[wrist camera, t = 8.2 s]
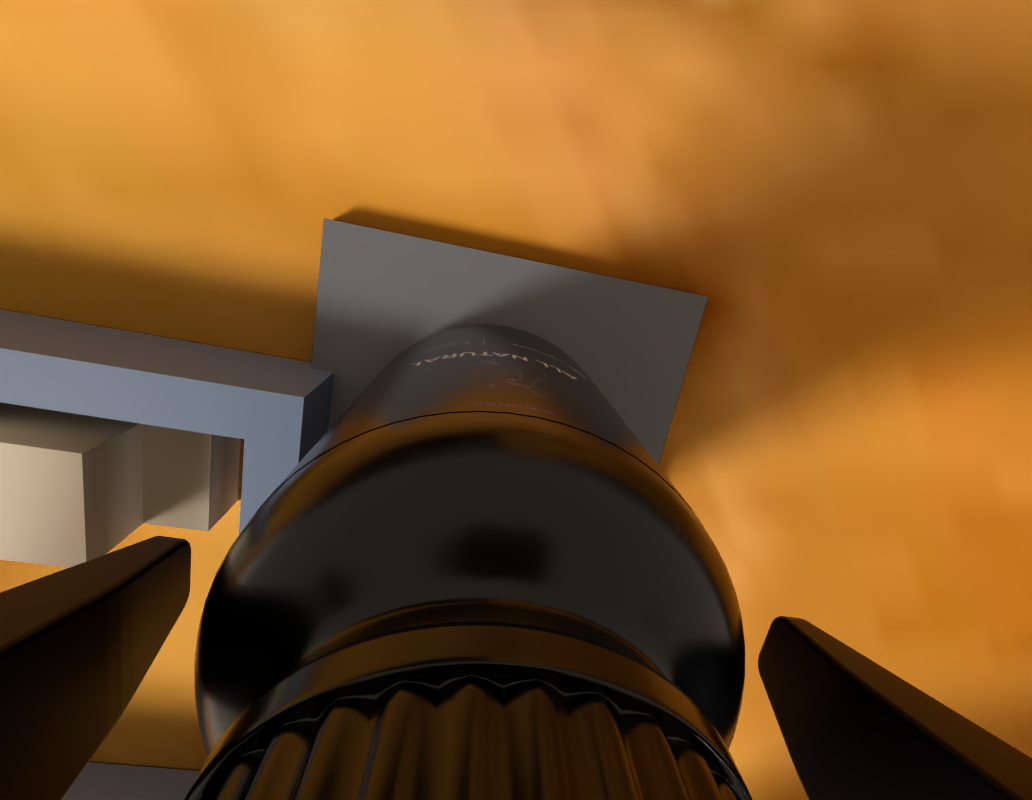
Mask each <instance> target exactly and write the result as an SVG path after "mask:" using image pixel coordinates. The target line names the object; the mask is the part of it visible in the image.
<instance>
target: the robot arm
mask: <svg viewBox="0 0 1032 800" xmlns="http://www.w3.org/2000/svg"><path fill="white" fill-rule="evenodd" d="M190 570H191V547H190V543H189V542H188V541H187V540H185V539H179V538H171V537H163V536H156V537H152V538H150V539H147V540H144V541H141V542H139V543H136V544H133V545H130V546H128V547H125V548H122V549H119V550H117V551H114V552H111V553H108V554H106V555H103V556H100V557H97V558H95V559H92V560H89V561H86V562H84V563H81V564H78V565H75V566H73V567H70V568H67V569H64V570H61V571H59V572H56V573H53V574H50V575H48V576H45V577H42V578H39V579H37V580H34V581H31V582H28V583H26V584H23V585H20V586H17V587H15V588H12V589H9V590H6V591H4V592H1V593H0V800H62V798H63V797H64V795H65V794H66V793H67V791H68V790H69V788H70V787H71V786H72V784H73V783H74V781H75V780H76V779H77V777H78V776H79V774H80V773H81V772H82V770H83V769H84V767H85V766H86V765H87V763H88V762H89V760H90V759H91V758H92V756H93V755H94V753H95V752H96V751H97V749H98V748H99V746H100V745H101V744H102V742H103V741H104V739H105V738H106V737H107V735H108V734H109V732H110V731H111V729H112V728H113V726H114V725H115V723H116V722H117V721H118V719H119V718H120V716H121V715H122V713H123V712H124V710H125V708H126V707H127V705H128V703H129V702H130V700H131V698H132V697H133V695H134V693H135V692H136V690H137V688H138V687H139V685H140V683H141V681H142V680H143V678H144V676H145V674H146V673H147V671H148V669H149V667H150V666H151V664H152V662H153V661H154V659H155V657H156V655H157V654H158V652H159V650H160V648H161V647H162V645H163V643H164V642H165V640H166V638H167V636H168V635H169V633H170V631H171V629H172V628H173V626H174V624H175V623H176V621H177V619H178V617H179V616H180V614H181V612H182V610H183V609H184V607H185V605H186V602H187V600H188V596H189V592H190ZM758 668H759V673H760V676H761V679H762V682H763V684H764V687H765V690H766V692H767V695H768V698H769V700H770V703H771V706H772V708H773V711H774V714H775V716H776V719H777V722H778V724H779V727H780V730H781V732H782V735H783V738H784V740H785V743H786V746H787V748H788V751H789V754H790V756H791V759H792V761H793V764H794V766H795V769H796V771H797V774H798V776H799V779H800V781H801V783H802V785H803V787H804V790H805V792H806V794H807V796H808V798H809V800H1032V758H1030V757H1029V756H1027V755H1025V754H1024V753H1022V752H1021V751H1019V750H1017V749H1016V748H1014V747H1012V746H1011V745H1009V744H1007V743H1006V742H1004V741H1003V740H1001V739H999V738H998V737H996V736H994V735H993V734H991V733H989V732H988V731H986V730H985V729H983V728H981V727H980V726H978V725H976V724H975V723H973V722H971V721H970V720H968V719H967V718H965V717H963V716H962V715H960V714H958V713H957V712H955V711H953V710H952V709H950V708H949V707H947V706H945V705H944V704H942V703H940V702H939V701H937V700H935V699H934V698H932V697H931V696H929V695H927V694H926V693H924V692H922V691H921V690H919V689H917V688H916V687H914V686H913V685H911V684H909V683H908V682H906V681H904V680H903V679H901V678H899V677H898V676H896V675H894V674H893V673H891V672H890V671H888V670H886V669H885V668H883V667H881V666H880V665H878V664H876V663H875V662H873V661H872V660H870V659H868V658H867V657H865V656H863V655H862V654H860V653H858V652H857V651H855V650H854V649H852V648H850V647H849V646H847V645H845V644H844V643H842V642H840V641H839V640H837V639H836V638H834V637H832V636H831V635H829V634H827V633H826V632H824V631H822V630H821V629H819V628H818V627H816V626H814V625H813V624H811V623H809V622H808V621H806V620H804V619H801V618H793V617H785V616H779V617H777V618H775V619H774V620H773V622H772V623H771V626H770V628H769V631H768V633H767V636H766V639H765V641H764V644H763V646H762V649H761V651H760V654H759V658H758Z"/></svg>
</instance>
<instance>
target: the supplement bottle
mask: <svg viewBox="0 0 1032 800" xmlns="http://www.w3.org/2000/svg"><path fill="white" fill-rule="evenodd" d="M744 678H745V642H744V634H743V625H742V616H741V612H740V608H739V604H738V600H737V596H736V592H735V589H734V586H733V583H732V581H731V578H730V575H729V573H728V570H727V567H726V565H725V563H724V561H723V559H722V558H721V556H720V554H719V552H718V550H717V548H716V546H715V544H714V543H713V541H712V539H711V538H710V536H709V535H708V533H707V532H706V530H705V529H704V527H703V525H702V524H701V522H700V521H699V519H698V518H697V516H696V515H695V513H694V512H693V510H692V509H691V507H690V506H689V505H688V503H687V502H686V501H685V499H684V498H683V497H682V495H681V494H680V493H679V492H678V490H677V489H676V488H675V486H674V485H673V484H672V483H671V481H670V480H669V479H668V477H667V476H666V475H665V474H664V472H663V471H662V470H661V468H660V467H659V466H658V465H657V463H656V462H655V461H654V459H653V458H652V457H651V456H650V454H649V453H648V452H647V450H646V449H645V448H644V447H643V445H642V444H641V443H640V441H639V440H638V439H637V437H636V436H635V435H634V434H633V432H632V431H631V430H630V428H629V427H628V426H627V425H626V423H625V422H624V421H623V419H622V418H621V417H620V416H619V414H618V413H617V412H616V410H615V409H614V408H613V407H612V405H611V404H610V403H609V401H608V400H607V399H606V398H605V396H604V395H603V394H602V392H601V391H600V390H599V389H598V387H597V386H596V385H595V383H594V382H593V381H592V380H591V379H590V378H589V376H588V375H587V374H586V373H585V372H584V371H583V370H582V368H581V367H580V366H579V365H578V364H577V363H576V362H575V361H574V360H573V359H572V358H571V357H570V356H568V355H567V354H566V353H565V352H563V351H562V350H561V349H559V348H558V347H556V346H555V345H553V344H552V343H550V342H548V341H547V340H545V339H543V338H541V337H539V336H537V335H534V334H532V333H529V332H526V331H524V330H520V329H516V328H513V327H507V326H501V325H491V324H475V325H465V326H458V327H454V328H450V329H446V330H443V331H440V332H437V333H434V334H432V335H430V336H428V337H425V338H423V339H421V340H420V341H418V342H416V343H414V344H413V345H411V346H409V347H408V348H407V349H405V350H404V351H403V352H401V353H400V354H399V355H397V356H396V357H395V358H394V359H393V360H392V361H391V362H390V363H389V364H388V365H387V366H386V367H385V368H384V369H383V370H382V371H381V372H380V373H379V374H378V375H377V376H376V377H375V378H374V380H373V381H372V382H371V383H370V384H369V385H368V386H367V387H366V388H365V390H364V391H363V392H362V393H361V394H360V395H359V396H358V397H357V399H356V400H355V401H354V402H353V403H352V404H351V405H350V406H349V407H348V409H347V410H346V411H345V412H344V413H343V414H342V415H341V416H340V418H339V419H338V420H337V421H336V422H335V423H334V424H333V425H332V427H331V428H330V429H329V430H328V431H327V432H326V433H325V434H324V435H323V437H322V438H321V439H320V440H319V441H318V442H317V443H316V444H315V446H314V447H313V448H312V449H311V450H310V451H309V452H308V453H307V454H306V456H305V457H304V458H303V459H302V460H301V461H300V462H299V463H298V465H297V466H296V467H295V468H294V469H293V470H292V471H291V472H290V473H289V475H288V476H287V477H286V478H285V479H284V480H283V481H282V482H281V484H280V485H279V486H278V487H277V488H276V489H275V490H274V491H273V493H272V494H271V495H270V496H269V497H268V498H267V499H266V500H265V502H264V503H263V504H262V505H261V506H260V507H259V509H258V510H257V512H256V513H255V514H254V516H253V517H252V518H251V519H250V521H249V522H248V524H247V525H246V526H245V528H244V529H243V531H242V532H241V533H240V535H239V536H238V538H237V539H236V541H235V542H234V543H233V545H232V546H231V548H230V549H229V551H228V552H227V554H226V556H225V558H224V560H223V562H222V563H221V565H220V567H219V569H218V571H217V573H216V576H215V578H214V581H213V583H212V586H211V588H210V591H209V593H208V596H207V598H206V601H205V605H204V609H203V612H202V616H201V620H200V624H199V630H198V636H197V644H196V652H195V700H196V708H197V716H198V722H199V727H200V731H201V735H202V739H203V742H204V746H205V750H206V752H207V755H208V757H207V759H206V761H205V763H204V765H203V766H202V768H201V770H200V772H199V774H198V775H197V777H196V779H195V781H194V783H193V784H192V786H191V788H190V790H189V791H188V793H187V795H186V797H185V799H184V800H752V798H751V796H750V793H749V791H748V789H747V787H746V785H745V783H744V781H743V778H742V776H741V774H740V772H739V770H738V768H737V766H736V764H735V762H734V760H733V758H732V756H731V754H730V752H729V747H730V744H731V742H732V739H733V736H734V733H735V729H736V725H737V721H738V717H739V713H740V709H741V703H742V696H743V688H744Z"/></svg>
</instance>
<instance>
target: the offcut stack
mask: <svg viewBox="0 0 1032 800" xmlns="http://www.w3.org/2000/svg"><path fill="white" fill-rule="evenodd" d="M240 445H241V439H239V438H232V437H226V436H219V435H212V434H206V433H199V432H193V431H186V430H179V429H173V428H166V427H160V426H153V425H146V424H140V423H133V422H127V421H120V420H113V419H107V418H100V417H94V416H87V415H80V414H74V413H67V412H61V411H54V410H47V409H41V408H34V407H28V406H21V405H14V404H8V403H1V402H0V560H8V561H17V562H26V563H34V564H43V565H52V566H61V567H69V568H70V567H73V566H75V565H78V564H81V563H84V562H86V561H89V560H92V559H95V558H97V557H100V556H103V555H105V554H106V553H107V552H109V551H110V550H111V549H112V548H114V547H115V546H116V545H117V544H118V543H120V542H121V541H122V540H123V539H125V538H126V537H127V536H128V535H129V534H131V533H132V532H133V531H134V530H136V529H137V528H138V527H139V526H141V525H142V524H143V523H147V524H154V525H162V526H170V527H178V528H186V529H194V530H202V531H209V530H210V529H211V528H212V527H213V526H214V525H215V524H216V523H217V522H218V521H219V520H220V519H221V518H222V516H223V515H224V514H225V513H226V512H227V511H228V510H229V509H230V508H231V507H232V506H233V505H234V504H235V503H236V502H237V501H238V486H239V466H240Z"/></svg>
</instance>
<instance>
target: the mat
mask: <svg viewBox="0 0 1032 800" xmlns="http://www.w3.org/2000/svg"><path fill="white" fill-rule="evenodd" d="M707 298H708V296H703V295H698V294H693V293H688V292H683V291H679V290H674V289H669V288H664V287H659V286H654V285H649V284H644V283H639V282H634V281H629V280H625V279H620V278H615V277H610V276H605V275H600V274H595V273H590V272H585V271H580V270H575V269H571V268H566V267H561V266H556V265H551V264H546V263H541V262H536V261H531V260H526V259H521V258H517V257H512V256H507V255H502V254H497V253H492V252H487V251H482V250H477V249H472V248H467V247H463V246H458V245H453V244H448V243H443V242H438V241H433V240H428V239H423V238H418V237H413V236H409V235H404V234H399V233H394V232H389V231H384V230H379V229H374V228H369V227H364V226H359V225H355V224H350V223H345V222H340V221H335V220H330V219H325V218H324V226H323V237H322V248H321V259H320V270H319V282H318V293H317V304H316V315H315V327H314V338H313V349H312V360H311V368H312V369H318V370H324V371H330V372H334V377H333V387H332V397H331V407H330V417H329V426H328V430H329V429H330V428H331V427H332V425H333V424H334V423H335V422H336V421H337V420H338V419H339V418H340V416H341V415H342V414H343V413H344V412H345V411H346V410H347V409H348V407H349V406H350V405H351V404H352V403H353V402H354V401H355V400H356V399H357V397H358V396H359V395H360V394H361V393H362V392H363V391H364V390H365V388H366V387H367V386H368V385H369V384H370V383H371V382H372V381H373V380H374V378H375V377H376V376H377V375H378V374H379V373H380V372H381V371H382V370H383V369H384V368H385V367H386V366H387V365H388V364H389V363H390V362H391V361H392V360H393V359H394V358H395V357H396V356H397V355H399V354H400V353H401V352H403V351H404V350H405V349H407V348H408V347H409V346H411V345H413V344H414V343H416V342H418V341H420V340H421V339H423V338H425V337H428V336H430V335H432V334H434V333H437V332H440V331H443V330H446V329H450V328H454V327H458V326H465V325H475V324H491V325H501V326H507V327H513V328H516V329H520V330H524V331H526V332H529V333H532V334H534V335H537V336H539V337H541V338H543V339H545V340H547V341H548V342H550V343H552V344H553V345H555V346H556V347H558V348H559V349H561V350H562V351H563V352H565V353H566V354H567V355H568V356H570V357H571V358H572V359H573V360H574V361H575V362H576V363H577V364H578V365H579V366H580V367H581V368H582V370H583V371H584V372H585V373H586V374H587V375H588V376H589V378H590V379H591V380H592V381H593V382H594V383H595V385H596V386H597V387H598V389H599V390H600V391H601V392H602V394H603V395H604V396H605V398H606V399H607V400H608V401H609V403H610V404H611V405H612V407H613V408H614V409H615V410H616V412H617V413H618V414H619V416H620V417H621V418H622V419H623V421H624V422H625V423H626V425H627V426H628V427H629V428H630V430H631V431H632V432H633V434H634V435H635V436H636V437H637V439H638V440H639V441H640V443H641V444H642V445H643V447H644V448H645V449H646V450H647V452H648V453H649V454H650V456H651V457H652V458H653V459H654V461H655V462H656V463H657V465H659V462H660V458H661V455H662V452H663V448H664V445H665V441H666V438H667V435H668V431H669V428H670V424H671V421H672V418H673V414H674V411H675V407H676V404H677V401H678V397H679V394H680V390H681V387H682V383H683V380H684V377H685V373H686V370H687V366H688V363H689V360H690V356H691V353H692V349H693V346H694V343H695V339H696V336H697V332H698V329H699V326H700V322H701V319H702V315H703V312H704V309H705V305H706V302H707Z"/></svg>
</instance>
